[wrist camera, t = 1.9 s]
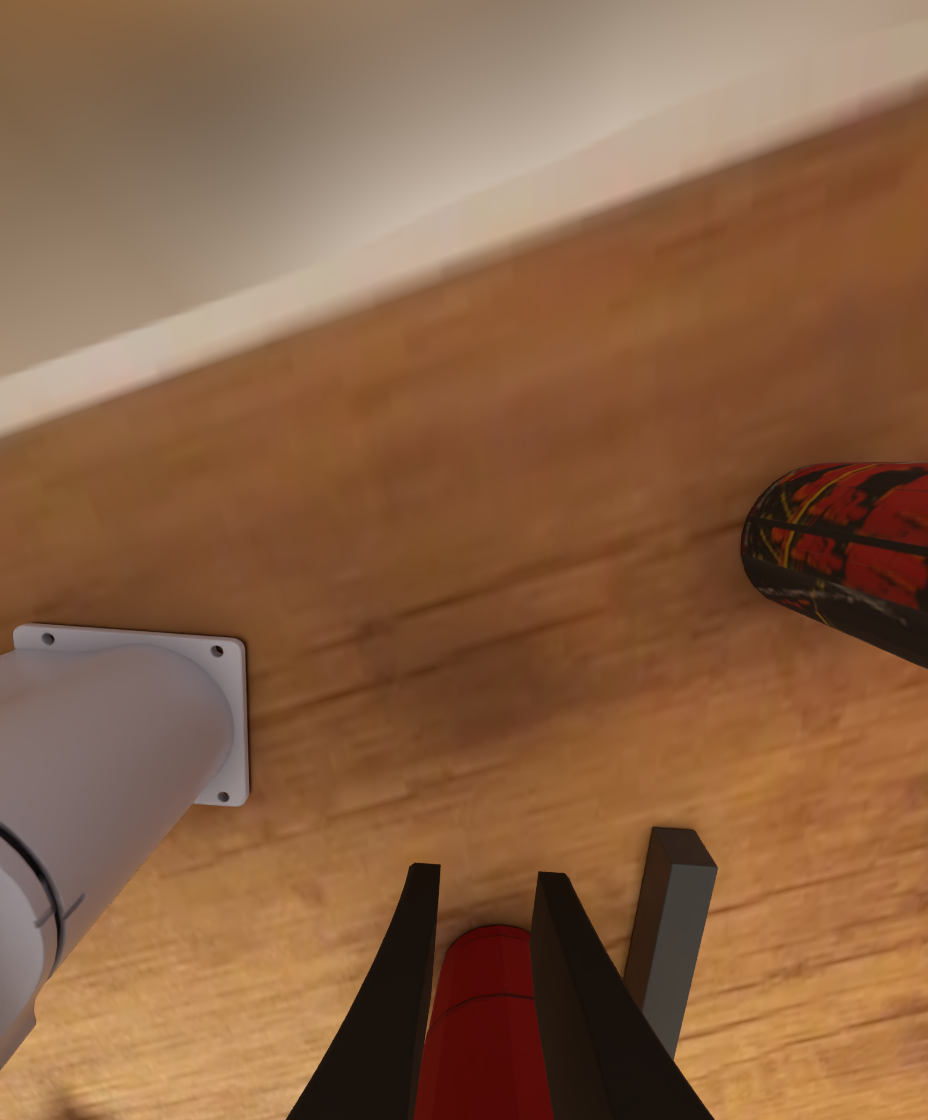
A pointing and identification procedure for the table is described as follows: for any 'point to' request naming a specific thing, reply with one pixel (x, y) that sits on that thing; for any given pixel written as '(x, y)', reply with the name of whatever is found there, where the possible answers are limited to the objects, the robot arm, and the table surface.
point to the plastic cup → (484, 1034)
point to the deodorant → (848, 550)
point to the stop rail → (669, 929)
